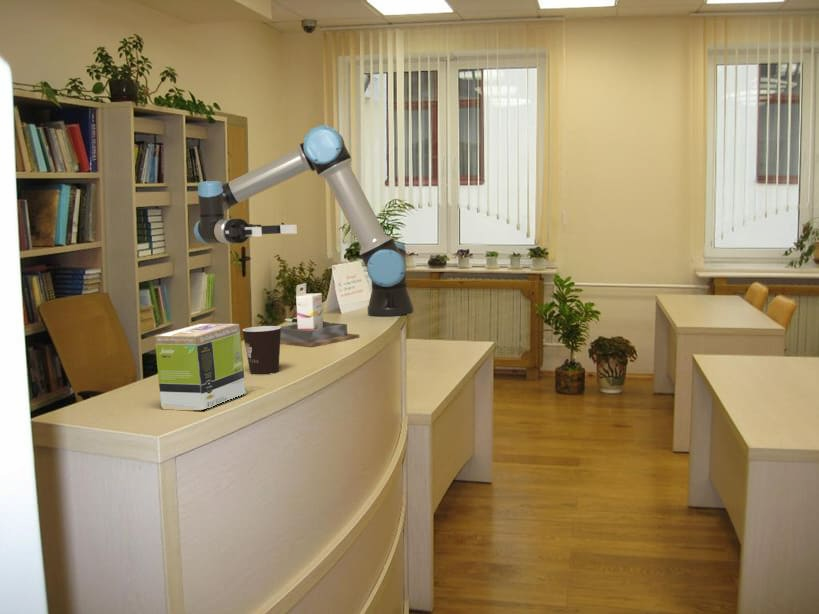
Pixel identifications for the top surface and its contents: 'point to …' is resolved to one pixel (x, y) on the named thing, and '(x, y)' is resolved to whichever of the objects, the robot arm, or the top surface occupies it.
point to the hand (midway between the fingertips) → (278, 230)
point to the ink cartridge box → (308, 309)
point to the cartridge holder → (315, 335)
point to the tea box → (200, 365)
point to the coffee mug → (262, 348)
